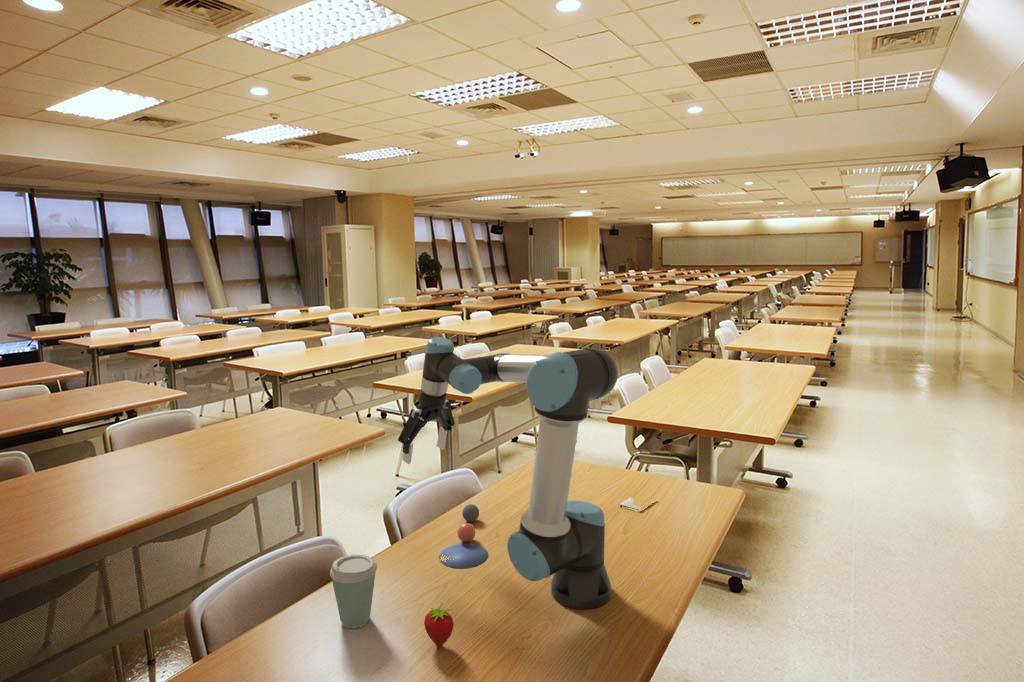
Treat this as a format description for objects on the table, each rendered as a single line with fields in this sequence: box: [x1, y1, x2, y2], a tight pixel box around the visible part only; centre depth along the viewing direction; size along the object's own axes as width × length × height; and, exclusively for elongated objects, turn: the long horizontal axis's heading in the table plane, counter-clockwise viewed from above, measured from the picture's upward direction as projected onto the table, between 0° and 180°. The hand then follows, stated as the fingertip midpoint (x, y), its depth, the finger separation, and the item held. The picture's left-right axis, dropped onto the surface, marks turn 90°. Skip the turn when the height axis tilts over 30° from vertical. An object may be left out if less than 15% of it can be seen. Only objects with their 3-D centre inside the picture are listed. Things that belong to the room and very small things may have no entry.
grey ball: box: [462, 503, 480, 523], centre depth 189 cm, size 6×6×6 cm
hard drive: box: [618, 497, 641, 510], centre depth 201 cm, size 2×8×12 cm
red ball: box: [457, 522, 476, 543], centre depth 176 cm, size 6×6×6 cm
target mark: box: [438, 543, 489, 569], centre depth 167 cm, size 14×14×1 cm
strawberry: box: [423, 602, 455, 648], centre depth 127 cm, size 6×8×10 cm
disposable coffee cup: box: [329, 554, 378, 629], centre depth 136 cm, size 11×11×15 cm
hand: (424, 454), depth 172 cm, fingers open, 13 cm apart
